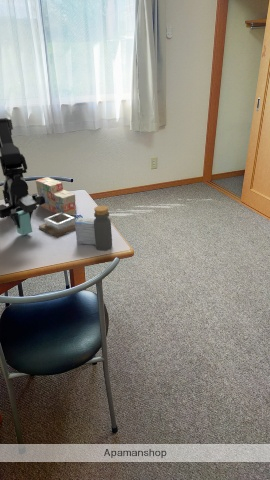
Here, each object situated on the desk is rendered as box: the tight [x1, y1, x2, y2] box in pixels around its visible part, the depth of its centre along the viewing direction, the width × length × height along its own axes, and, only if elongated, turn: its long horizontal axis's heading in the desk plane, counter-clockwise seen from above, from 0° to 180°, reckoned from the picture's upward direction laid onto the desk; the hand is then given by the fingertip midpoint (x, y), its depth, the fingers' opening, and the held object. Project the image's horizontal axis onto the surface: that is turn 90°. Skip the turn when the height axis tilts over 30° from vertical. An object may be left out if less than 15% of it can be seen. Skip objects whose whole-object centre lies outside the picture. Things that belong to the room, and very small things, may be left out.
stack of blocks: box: [35, 176, 77, 216], centre depth 155 cm, size 21×6×12 cm, turn 43°
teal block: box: [15, 210, 33, 236], centre depth 134 cm, size 4×4×8 cm
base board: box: [38, 220, 76, 238], centre depth 141 cm, size 12×12×1 cm
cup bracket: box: [43, 212, 76, 232], centre depth 141 cm, size 8×8×3 cm
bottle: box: [93, 205, 113, 252], centre depth 123 cm, size 6×6×15 cm
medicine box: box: [75, 217, 96, 246], centre depth 128 cm, size 8×4×9 cm, turn 77°
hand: (23, 226), depth 134 cm, fingers closed on teal block, 4 cm apart
